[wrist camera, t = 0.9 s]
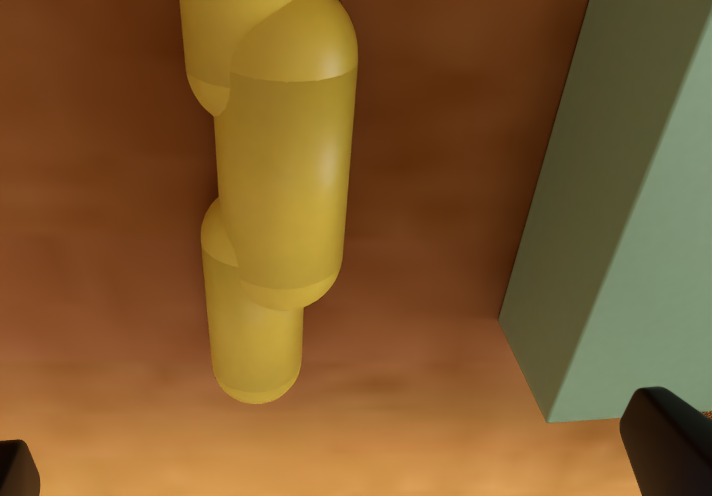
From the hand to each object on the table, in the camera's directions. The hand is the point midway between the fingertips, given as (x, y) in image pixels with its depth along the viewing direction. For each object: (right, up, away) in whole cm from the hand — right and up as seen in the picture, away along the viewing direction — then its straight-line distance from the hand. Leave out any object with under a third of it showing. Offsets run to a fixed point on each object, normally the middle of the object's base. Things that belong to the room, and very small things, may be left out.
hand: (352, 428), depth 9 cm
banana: (-2, +6, +9) cm, 11 cm away
